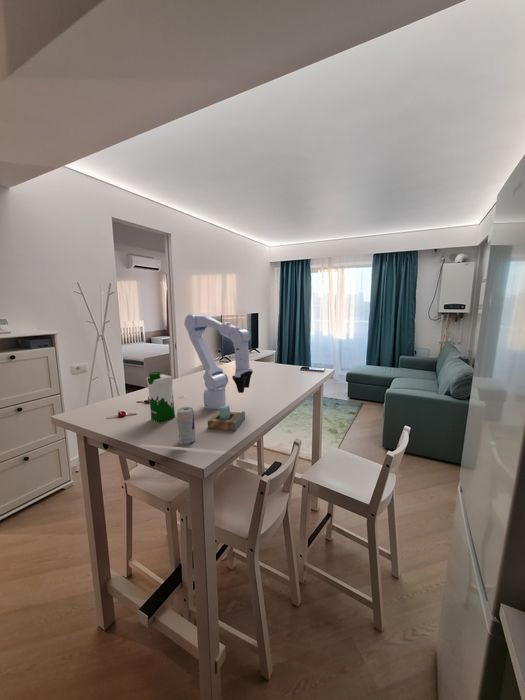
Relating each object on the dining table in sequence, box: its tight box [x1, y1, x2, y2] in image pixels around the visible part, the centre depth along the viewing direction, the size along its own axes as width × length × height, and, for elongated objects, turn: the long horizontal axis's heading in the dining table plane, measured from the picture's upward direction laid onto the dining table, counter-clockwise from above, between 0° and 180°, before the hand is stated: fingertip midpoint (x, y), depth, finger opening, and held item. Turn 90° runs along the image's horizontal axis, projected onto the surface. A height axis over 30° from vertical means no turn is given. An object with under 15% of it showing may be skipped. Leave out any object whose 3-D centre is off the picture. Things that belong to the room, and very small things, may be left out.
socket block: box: [207, 410, 241, 431], centre depth 116 cm, size 10×10×3 cm
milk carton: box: [145, 371, 176, 424], centre depth 124 cm, size 9×9×20 cm
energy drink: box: [176, 406, 197, 446], centre depth 102 cm, size 5×5×12 cm
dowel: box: [218, 405, 231, 420], centre depth 116 cm, size 4×4×7 cm
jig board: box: [232, 411, 246, 433], centre depth 117 cm, size 20×12×4 cm, turn 76°
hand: (243, 390), depth 127 cm, fingers open, 7 cm apart
